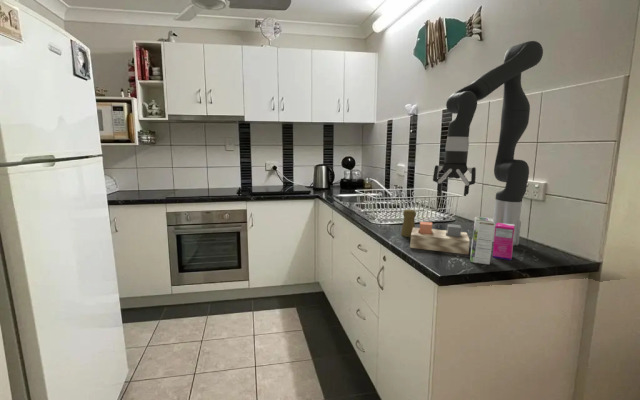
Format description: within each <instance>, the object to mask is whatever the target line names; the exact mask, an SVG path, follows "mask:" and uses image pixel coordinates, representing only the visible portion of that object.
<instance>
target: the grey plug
mask: <svg viewBox="0 0 640 400" xmlns="http://www.w3.org/2000/svg"><path fill="white" fill-rule="evenodd" d="M446 231H447V236H451V237H460V235H461V232H462V227H461V225H460V224H453V223H452V224H451V223H447V230H446Z"/></svg>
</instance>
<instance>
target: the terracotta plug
mask: <svg viewBox="0 0 640 400" xmlns="http://www.w3.org/2000/svg"><path fill="white" fill-rule="evenodd" d="M419 228H420V230H419V233H422V234H432V229H433V222H431V221H429V222H428V221H420V222H419Z"/></svg>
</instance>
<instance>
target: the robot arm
mask: <svg viewBox="0 0 640 400" xmlns="http://www.w3.org/2000/svg"><path fill="white" fill-rule="evenodd" d="M543 55H544V49H543V47H542V44H541V43H540V41H539V42H538V41H537V40H528V41H526V42H522V43H519V44H516V45H513V46H511V47H509V48H508V49H507V50H506V52H505V54H504V58H503V63H502V64H500V65H498V66H495V68H492V69H490V70H489V71H486V72H484V73H483V74H482V75H480V76H479V77H478V78H476V79H475V80H474V81H472V82H471V83H470V84H468V85H466V86H464V87H463V88H459V90H457V91H455V92H453V93H452V94H451V95H450V96H449V97H448V98H447V100H446V103H445V106H446V109H447V111H448V112H449V113H450V114H455V115H456V117H455V119H454V120H453V119H452V120H450V121H449V123H448V127H447V128H448V129H447V138H446V143H445V151H444V164H443V165H438V164H436V165H435V166H434V169H433V176H432V181H433V182H435V183H437V189H436V191H437V193H438V194H439V195H441V194H442V193H443V182H444V181H445V180H446V179H447V178H449V179H461V180H462V182H463V183H464V191H463V197H467V195H469V191H470V187H471V186H472V185H475V183H476V178H477V177H476V175H477V172H476V171H477V168H476V167H475V166H473V167H468V165H467V164H468V155H469V146H470V143H469V142H470V141H469V139H470V138H469V137H470V131H471V130H470V129H471V128H470V127H471V124H472V121H473V119H474V116H475V113H476V110H477V108H478V101H481V100H483V99H485V98H486V97H488V96H489V95H491V94H492V93H493V92H494V91H495V90H497V89H498V88H500V87H502V85H503V97H502V107H501V115H500V116H501V118H500V131H499V138H498V145H497V146H498V147H497V152H496V155H495V156H496V157H495V161H494V166H493V167H494V169H493V174H494V175H493V176H494V178H495V179H496V181H498V182H501V183H505V187H504V189H502V190H500V191H497V192H495V200H494V207H493V208H494V209H493V216H492V219H493V220H494V222H495V226H496V224H497V223H505V224H514V225H515V230H514V240H513V246H519V243H520V233H521V226H522V221H521V214H522V207H523V206H522V205H523V199H524V196H525V195H526V192H527V188H528V181H529V176H530V167H529V164H528V163H527V162H526V161H525V160H523V159H517V158H516V159H515V150H516V147H517V144H518V142H519V141H520V139H521V138H522V136H523V135H524V133H525V131H526V129H528V126H529V121H530V120H529V119H530V113H531V112H530V111H531V106H530V101H529V100H528V97H527V95H526V93H525V92H524V89H523V87H522V73H524V72H525V71H527V70H530V69H531V68H534V67H535V66H537V65H538V64H539V63H540V62H541V60H542V58H543ZM441 170H442V171H443V172H444V174H443V175H442V176H441V177H440V178H438V177H439V172H441ZM466 172H468V173H469V174H471V175H470V177H471V179H470V181H469V180H468V179H467V177H466V175H465V174H466ZM495 226H494V235H493V242H492V243H494V236H495Z"/></svg>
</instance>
